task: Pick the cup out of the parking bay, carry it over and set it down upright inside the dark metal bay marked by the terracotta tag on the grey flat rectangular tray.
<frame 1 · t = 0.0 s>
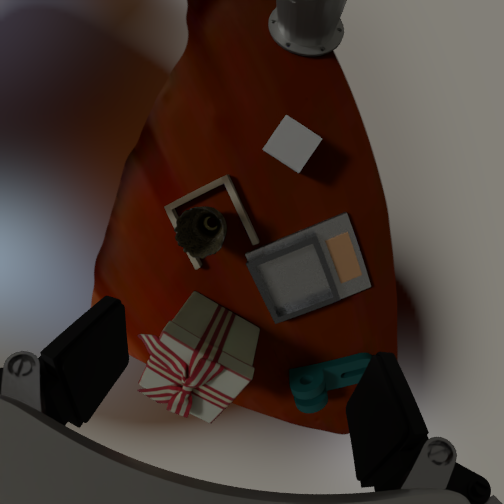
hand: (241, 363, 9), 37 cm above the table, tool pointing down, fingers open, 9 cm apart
white cube: (291, 146, 42), on the table
bracket: (333, 370, 54), on the table
gift box: (203, 333, 54), on the table
cup: (212, 222, 47), on the table
grey flat rectangular tray: (310, 269, 47), on the table
parking bay: (212, 222, 47), on the table
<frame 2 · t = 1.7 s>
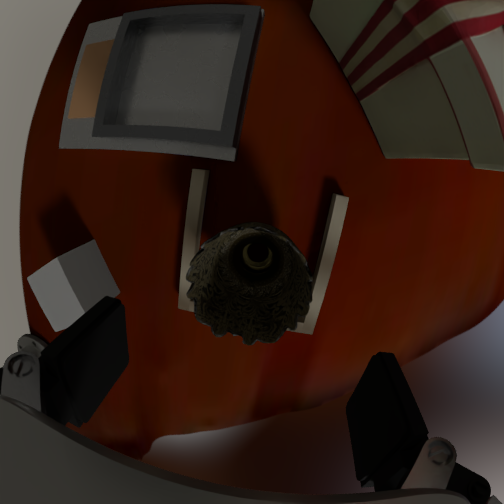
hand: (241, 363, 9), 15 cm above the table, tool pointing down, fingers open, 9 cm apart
white cube: (90, 274, 26), on the table
gift box: (424, 77, 18), on the table
cup: (258, 251, 24), on the table
grey flat rectangular tray: (150, 76, 20), on the table
parking bay: (258, 252, 23), on the table
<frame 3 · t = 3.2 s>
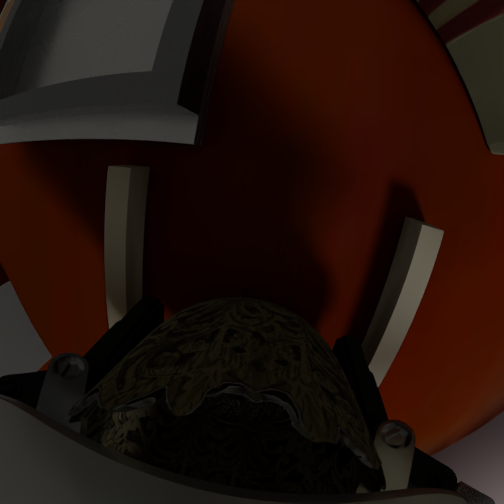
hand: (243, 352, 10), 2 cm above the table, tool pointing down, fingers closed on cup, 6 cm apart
white cube: (17, 325, 15), on the table
cup: (251, 326, 12), on the table, touching gripper
grey flat rectangular tray: (70, 19, 8), on the table
parking bay: (250, 329, 12), on the table
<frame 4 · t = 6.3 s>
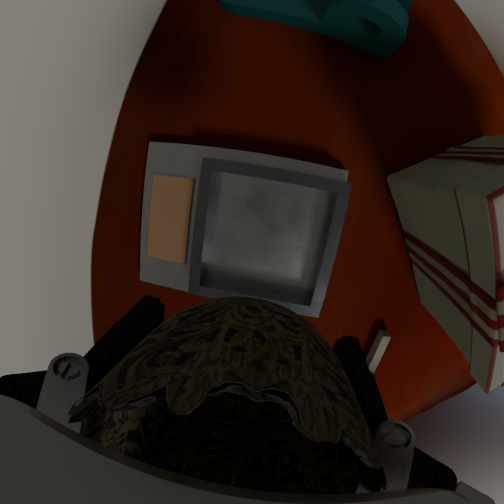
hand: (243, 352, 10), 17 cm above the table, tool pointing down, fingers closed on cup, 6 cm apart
bracket: (305, 5, 19), on the table
gift box: (465, 227, 23), on the table
cup: (252, 326, 12), point 15 cm above the table, touching gripper
grey flat rectangular tray: (234, 227, 26), on the table
parking bay: (321, 366, 29), on the table
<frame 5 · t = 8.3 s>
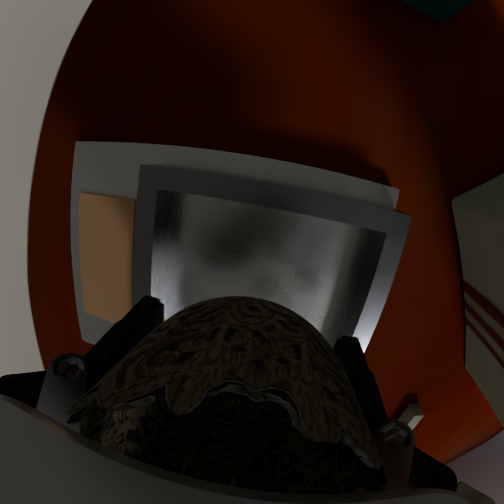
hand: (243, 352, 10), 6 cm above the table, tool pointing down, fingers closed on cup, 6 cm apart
cup: (252, 326, 12), point 4 cm above the table, touching gripper
grey flat rectangular tray: (205, 278, 16), on the table
parking bay: (329, 444, 19), on the table
when the fingers open (4 cm above the table, at t = 9.7 s): cup drops 1 cm, resting on grey flat rectangular tray.
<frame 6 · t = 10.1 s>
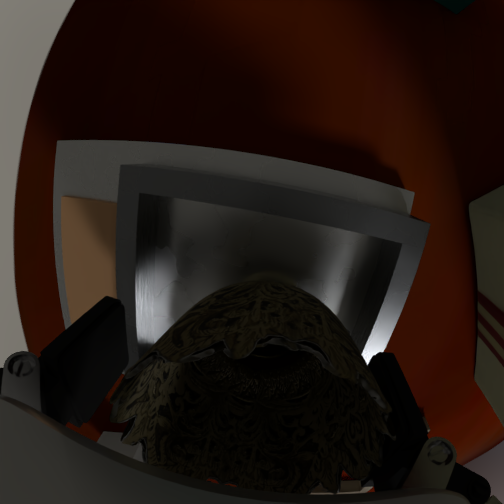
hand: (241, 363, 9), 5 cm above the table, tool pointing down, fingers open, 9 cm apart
white cube: (141, 448, 21), on the table
cup: (268, 312, 13), point 1 cm above the table, touching grey flat rectangular tray
grey flat rectangular tray: (197, 290, 14), on the table
parking bay: (331, 458, 18), on the table
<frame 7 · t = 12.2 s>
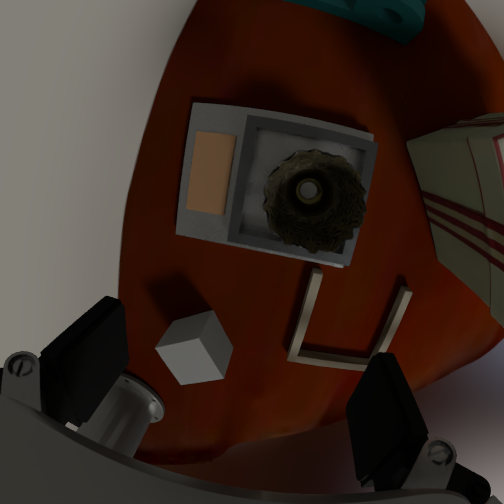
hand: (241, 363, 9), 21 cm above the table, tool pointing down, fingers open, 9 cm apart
white cube: (203, 333, 35), on the table
gift box: (474, 193, 24), on the table
cup: (308, 190, 26), point 1 cm above the table, touching grey flat rectangular tray
grey flat rectangular tray: (271, 182, 27), on the table
parking bay: (347, 322, 31), on the table
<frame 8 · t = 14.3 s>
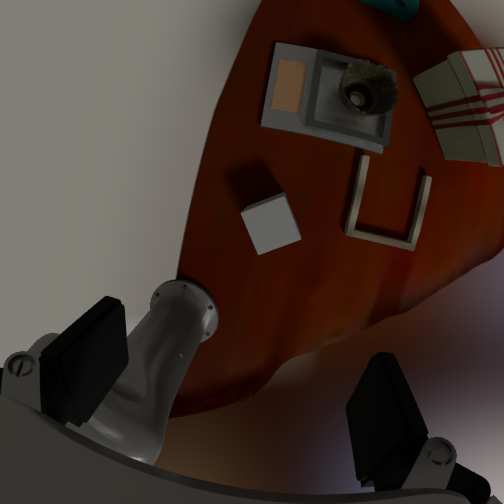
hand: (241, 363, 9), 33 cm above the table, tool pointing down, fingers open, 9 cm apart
white cube: (272, 217, 42), on the table
gift box: (462, 116, 32), on the table
cup: (355, 100, 34), point 1 cm above the table, touching grey flat rectangular tray
grey flat rectangular tray: (329, 95, 35), on the table
parking bay: (388, 203, 39), on the table
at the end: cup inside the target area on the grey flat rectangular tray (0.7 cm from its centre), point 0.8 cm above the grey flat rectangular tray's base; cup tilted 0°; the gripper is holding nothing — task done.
